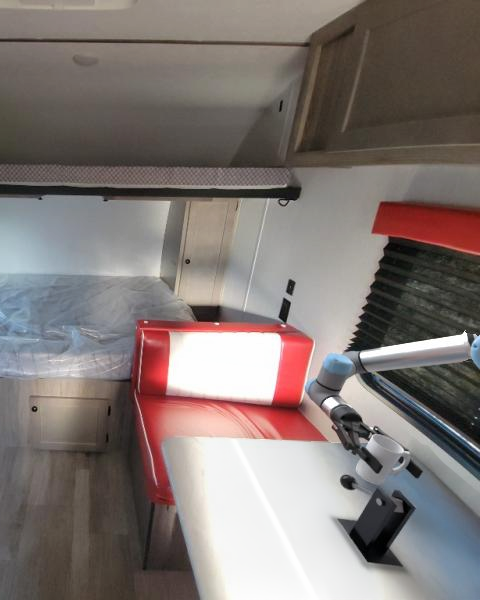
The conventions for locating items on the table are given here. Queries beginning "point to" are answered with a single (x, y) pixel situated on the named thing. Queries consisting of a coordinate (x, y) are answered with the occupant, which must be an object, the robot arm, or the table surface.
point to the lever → (366, 490)
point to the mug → (383, 459)
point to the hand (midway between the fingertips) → (399, 472)
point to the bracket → (379, 527)
